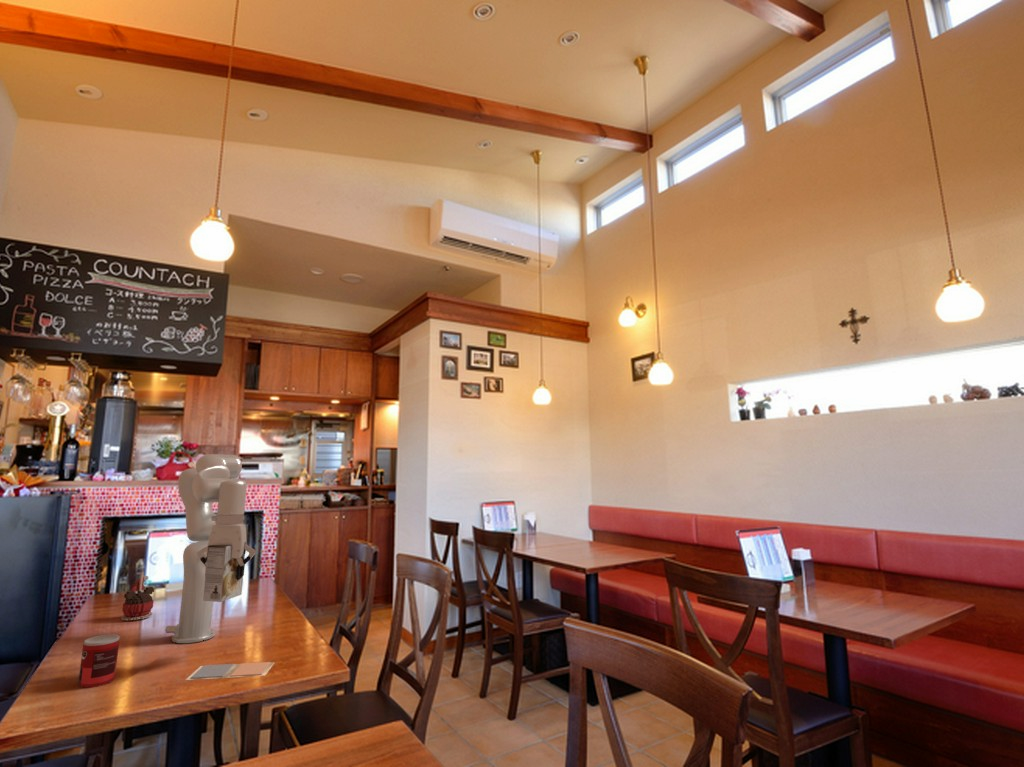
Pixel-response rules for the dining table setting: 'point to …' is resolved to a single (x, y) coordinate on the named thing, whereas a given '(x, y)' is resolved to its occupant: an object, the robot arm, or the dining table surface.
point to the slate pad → (212, 671)
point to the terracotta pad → (250, 669)
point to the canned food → (98, 660)
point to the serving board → (232, 672)
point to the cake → (138, 600)
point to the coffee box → (221, 574)
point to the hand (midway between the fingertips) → (224, 578)
